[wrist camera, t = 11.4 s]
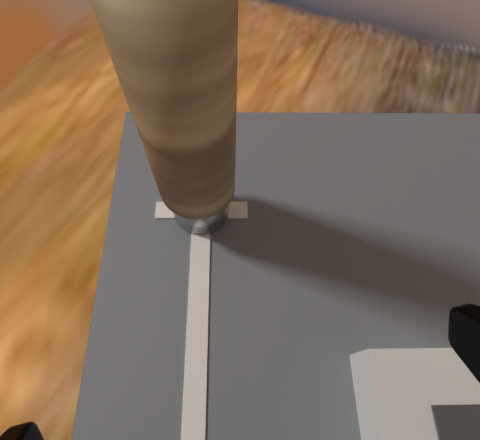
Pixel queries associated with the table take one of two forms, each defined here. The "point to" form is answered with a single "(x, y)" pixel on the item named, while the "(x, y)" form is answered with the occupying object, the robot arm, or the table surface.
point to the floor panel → (281, 277)
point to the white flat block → (415, 395)
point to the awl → (180, 97)
